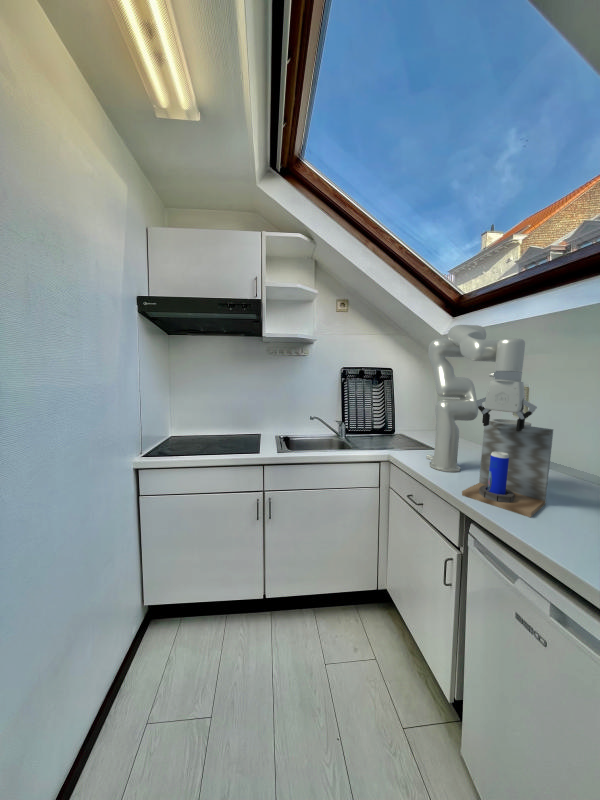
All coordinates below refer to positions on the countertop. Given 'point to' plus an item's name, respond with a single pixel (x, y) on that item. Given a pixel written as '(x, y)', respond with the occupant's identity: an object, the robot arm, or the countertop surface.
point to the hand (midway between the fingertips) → (501, 428)
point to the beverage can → (498, 472)
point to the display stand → (516, 467)
